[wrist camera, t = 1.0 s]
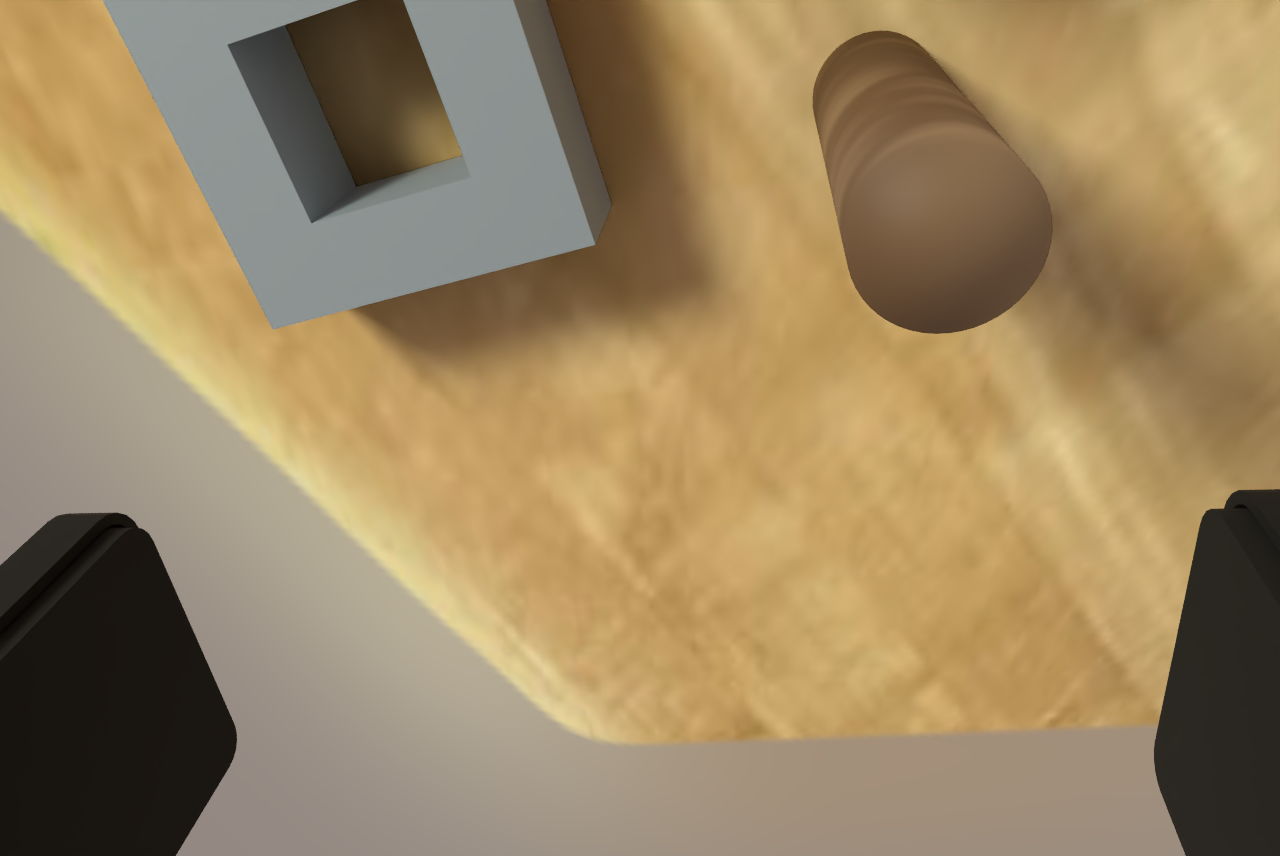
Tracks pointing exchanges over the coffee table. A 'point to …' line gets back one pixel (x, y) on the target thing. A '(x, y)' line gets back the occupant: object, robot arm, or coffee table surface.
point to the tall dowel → (925, 189)
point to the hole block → (318, 175)
